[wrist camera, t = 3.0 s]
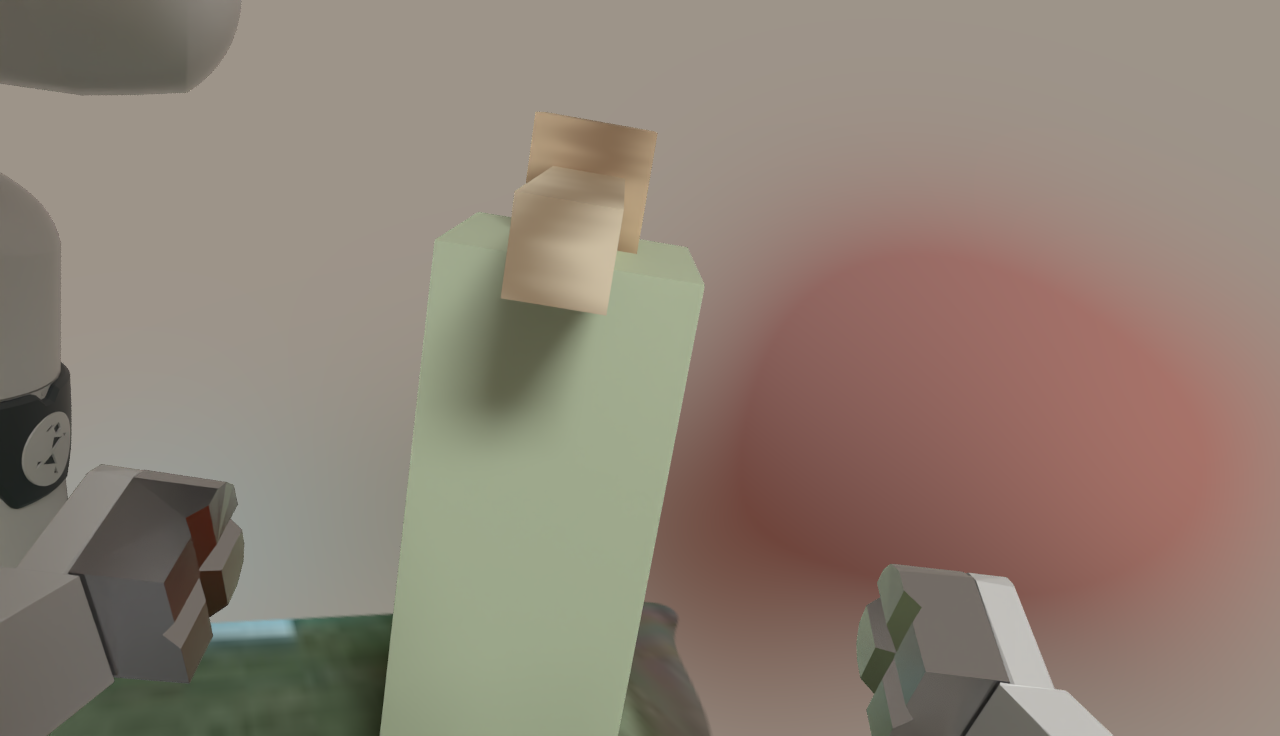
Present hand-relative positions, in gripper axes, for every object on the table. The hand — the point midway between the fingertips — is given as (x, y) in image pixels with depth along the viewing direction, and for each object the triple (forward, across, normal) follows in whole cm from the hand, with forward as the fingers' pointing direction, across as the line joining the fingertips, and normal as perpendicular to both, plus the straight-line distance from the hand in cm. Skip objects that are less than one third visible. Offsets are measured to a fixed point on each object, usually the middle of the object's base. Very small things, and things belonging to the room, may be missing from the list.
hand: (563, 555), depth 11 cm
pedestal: (+16, +1, +34) cm, 38 cm away
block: (+22, +1, +9) cm, 24 cm away
